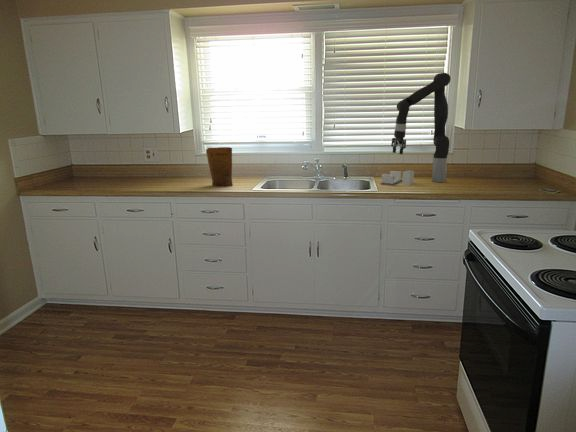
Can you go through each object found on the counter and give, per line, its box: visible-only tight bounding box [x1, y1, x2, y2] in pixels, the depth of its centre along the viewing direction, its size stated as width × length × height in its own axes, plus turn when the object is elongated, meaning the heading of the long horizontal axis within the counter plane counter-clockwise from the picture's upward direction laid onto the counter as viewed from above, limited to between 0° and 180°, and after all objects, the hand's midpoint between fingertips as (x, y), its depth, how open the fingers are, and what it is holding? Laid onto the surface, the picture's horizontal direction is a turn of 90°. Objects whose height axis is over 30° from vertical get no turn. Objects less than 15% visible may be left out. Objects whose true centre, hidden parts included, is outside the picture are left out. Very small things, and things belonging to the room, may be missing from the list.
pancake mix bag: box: [205, 146, 234, 187], centre depth 308 cm, size 7×19×28 cm, turn 75°
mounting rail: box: [380, 170, 403, 187], centre depth 309 cm, size 9×20×7 cm, turn 146°
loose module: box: [401, 169, 415, 186], centre depth 304 cm, size 5×9×9 cm, turn 146°
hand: (397, 153), depth 305 cm, fingers open, 8 cm apart
